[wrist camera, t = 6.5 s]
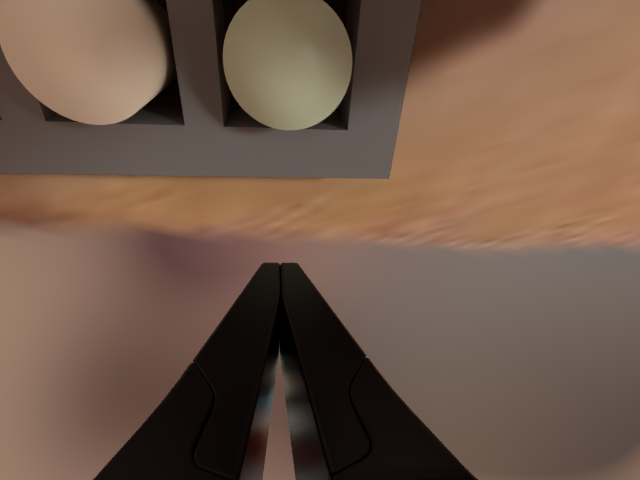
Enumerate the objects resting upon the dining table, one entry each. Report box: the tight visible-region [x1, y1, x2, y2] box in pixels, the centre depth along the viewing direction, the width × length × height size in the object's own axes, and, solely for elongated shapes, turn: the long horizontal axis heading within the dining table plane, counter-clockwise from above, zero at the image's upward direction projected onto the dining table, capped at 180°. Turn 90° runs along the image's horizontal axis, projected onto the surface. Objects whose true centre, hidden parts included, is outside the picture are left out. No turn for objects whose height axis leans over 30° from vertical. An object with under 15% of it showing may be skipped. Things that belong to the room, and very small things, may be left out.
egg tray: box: [0, 0, 422, 179], centre depth 14 cm, size 24×10×3 cm, turn 86°
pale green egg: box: [223, 0, 352, 130], centre depth 15 cm, size 5×5×4 cm
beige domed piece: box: [0, 0, 177, 125], centre depth 14 cm, size 5×5×4 cm
